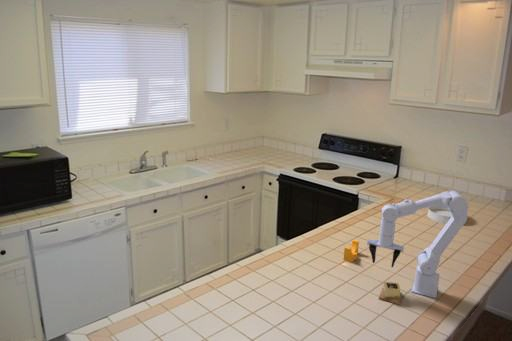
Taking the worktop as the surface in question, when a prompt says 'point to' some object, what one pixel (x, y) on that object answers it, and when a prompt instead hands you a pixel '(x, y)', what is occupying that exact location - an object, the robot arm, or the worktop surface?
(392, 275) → the worktop surface
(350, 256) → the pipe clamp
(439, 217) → the dish
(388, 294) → the collar
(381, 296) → the shaft block
